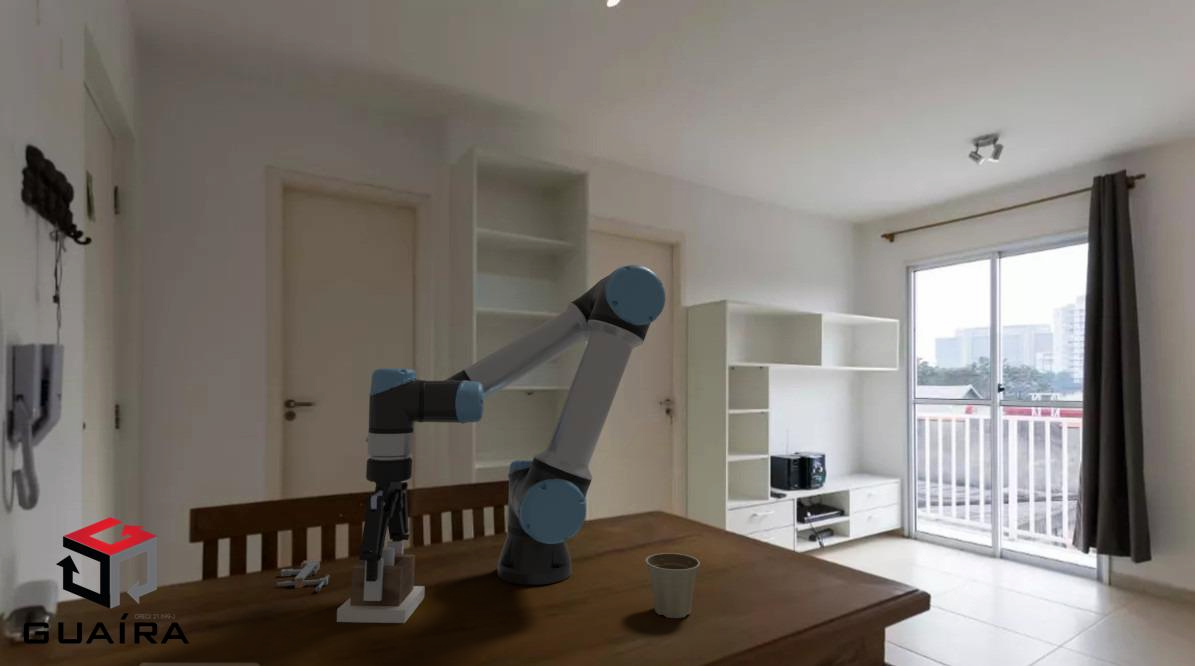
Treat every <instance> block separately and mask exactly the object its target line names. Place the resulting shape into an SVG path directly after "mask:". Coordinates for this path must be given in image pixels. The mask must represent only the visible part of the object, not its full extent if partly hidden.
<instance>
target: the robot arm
mask: <svg viewBox="0 0 1195 666" xmlns="http://www.w3.org/2000/svg"><path fill="white" fill-rule="evenodd" d="M665 290H666V289H665V287H664V285H663V282H662V281H661V279H660V278H659V276H658V275H657V274H656V272H654V271H652V270H651V269H649V268H647V267H645V266H643V265H638V264H631V265H630V264H629V265H624V266H621V267H618V268H616V269H615V270H614V271H612V272H611V273H610V274H609V275H607V276H604V277H603V278H602V279H600V280H599V281H597V282H596V283H595V284H593V286H592V287H591V288H590V289H588V290H587V291H585V293H583V294H581V295H580V296H579V297H577V298H576V299H574V300H573V301H571V302H569V303H568V304H567V308H566V310H564V311H563V312H561V313H559V314H557V315H556V316H553V317H552V318H550V319H549V320H547V321H546V322H544V323H542V324H540V325H538V326H537V327H535V328H533V329H531V330H530V331H528V332H526V333H524V334H523V335H521V336H520V337H518V338H516V339H513V340H512V341H511V342H509V343H507V344H506V345H504V346H502V347H500V348H499V349H497V350H495V351H493V352H491V353H490V354H488V355H486V356H485V357H483V358H481V359H480V360H478V361H476V362H475V363H474V362H473V364H471V365H469V366H467V367H465V368H464V369H462V370H461V371H459V372H457V373H455V374H453V375H452V376H450V377H448V378H446V379H444V380H422V379H418V378H417V372H416V370H415V369H413V368H376V369H375V370H374V371H373V372H372V375H371V382H370V392H369V402H368V403H369V408H368V436H367V437H365V442H366V443H367V455H368V456H369V458H368V459H367V460H366V468H365V469H366V471H365V479H366V480H367V481H368V482H371V483H374V484H375V489H374V492H373V493H372V494H373V495H369V494H368V495H367V496H366V500H365V503H366V505H365V508H366V509H365V518H364V523H363V524H364V525H363V531H362V536H361V537H362V538H361V545H360V553H359V556H358V558H359V559H358V560H359V561H362V560H365V579H364V600H363V601H381V599H382V584H383V562H384V558H381V557H382V551H383V547H385V540H386V535H387V531H388V536H389V540H388V541H387V543H386V544H387V545H386V547H394V548H395V554H404V550H405V549H404V547H405V545H404V544H405V541H408V540H409V539H410V533H409V530H410V529H409V515H408V513H409V510H408V509H409V508H408V486H409V484H408V482H405V481H409V480H410V479H411V478H412V474H413V472H412V471H413V459H412V457H410V456H412V455H413V453H414V433H415V432H414V431H415V429H414V425H415V423H457V424H458V423H459V424H466V423H477V422H478V423H479V422H480V421H481V420H482V418H483V414H484V400H486V399H488V398H489V397H491V396H493V395H495V394H497V393H499V392H500V391H502V390H503V389H505V388H506V387H509V386H510V385H513V384H514V383H516V382H517V381H519V380H520V379H522V378H524V377H525V376H527V375H529V374H531V373H532V372H534V371H535V370H537V369H540V367H542V366H544V365H545V364H547V363H549V362H552V361H553V360H554V359H556V358H558V357H559V356H561V355H563V354H565V353H566V352H567V351H569V350H571V349H573V348H574V347H576V346H578V345H580V344H582V342H587V344H586V347H585V349H584V351H583V354H582V357H581V359H580V361H579V363H578V366H577V369H576V372H575V374H574V377H573V379H572V382H571V384H570V387H569V389H568V392H567V395H566V398H565V400H564V403H563V404H562V407H561V410H560V413H559V415H558V418H557V420H556V424H555V425H554V428H553V430H552V433H551V436H550V439H549V441H548V442H547V445H546V448H545V450H543V451H541V452H539V453H537V454H535V455H534V457H533V459H522V460H521V459H520V460H519V459H518V460H513V461H512V462H510V465H509V472H508V475H507V477H508V479H509V480H508V503H507V506H508V507H507V510H508V511H507V532H506V533H507V534H506V538H505V541H504V544H503V547H502V550H501V553H500V556H499V558H498V562H497V576H498V578H500V579H501V580H503V581H505V582H507V583H512V584H516V585H527V586H539V585H548V584H549V585H550V584H554V583H558V582H562V581H564V580H566V579H568V578H569V577H570V576H571V575H572V567H573V566H572V558H571V555H570V551H569V547H568V544H567V541H568V540H570V539H572V537H574V536H575V535H576V534H577V533H578V532H579V531H580V529H581V528H582V526H583V524H584V523H585V520H586V516H587V515H586V514H587V502H586V496H587V494H588V491H589V488H590V486H591V483H592V481H593V476H592V473H591V471H590V468H589V465H590V463H591V459H592V457H593V454H594V453H595V452H594V451H595V450H596V448H597V444H598V441H599V439H600V436H601V434H602V431H603V428H604V426H605V423H606V420H607V417H608V415H609V413H610V409H611V407H612V405H613V403H614V399H615V397H616V394H617V392H618V389H619V386H620V383H621V380H622V379H623V376H624V373H625V370H626V368H627V365H628V362H629V360H630V357H631V355H632V352H633V349H635V348H637V347H639V346H641V345H643V344H644V341H645V339H646V336H647V333H648V331H649V328H650V326H651V323H653V322H655V320H657V318H658V317H659V316H660V315H661V314H662V312H663V311H664V309H665V305H666V291H665ZM408 533H409V534H408Z"/></svg>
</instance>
